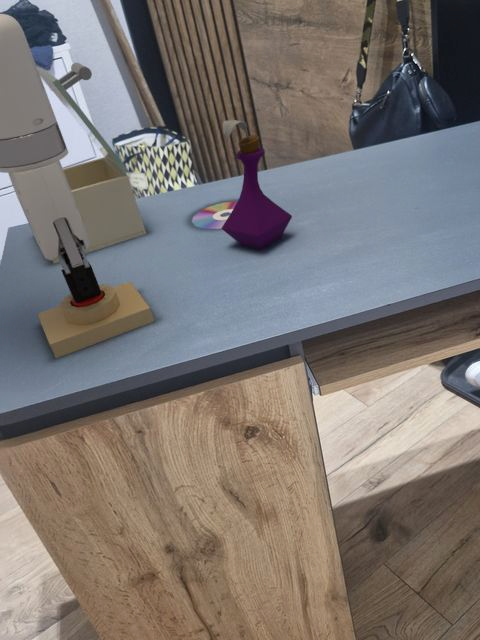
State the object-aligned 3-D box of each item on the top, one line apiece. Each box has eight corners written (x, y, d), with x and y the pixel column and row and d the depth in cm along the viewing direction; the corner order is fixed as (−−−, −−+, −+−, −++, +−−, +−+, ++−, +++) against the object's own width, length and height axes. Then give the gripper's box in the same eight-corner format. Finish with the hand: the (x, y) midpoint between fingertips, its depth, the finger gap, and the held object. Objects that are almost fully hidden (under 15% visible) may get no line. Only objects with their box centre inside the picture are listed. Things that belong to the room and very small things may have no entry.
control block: (56, 359, 75) (43, 331, 73) (43, 328, 82) (31, 301, 79) (155, 322, 79) (145, 294, 77) (135, 295, 86) (126, 269, 84)
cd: (267, 200, 109) (267, 199, 109) (247, 228, 100) (247, 227, 100) (206, 202, 111) (205, 202, 111) (181, 230, 102) (181, 230, 102)
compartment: (54, 264, 97) (28, 204, 92) (39, 237, 107) (15, 181, 102) (146, 234, 103) (127, 175, 97) (124, 211, 113) (106, 156, 107)
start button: (80, 319, 77) (75, 307, 76) (74, 308, 80) (69, 296, 79) (109, 309, 78) (105, 296, 77) (103, 298, 81) (98, 286, 80)
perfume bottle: (259, 228, 100) (234, 109, 89) (296, 236, 96) (274, 112, 85) (225, 248, 95) (195, 125, 85) (263, 257, 91) (235, 129, 81)
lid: (52, 82, 87) (86, 58, 88) (36, 70, 97) (66, 49, 98) (124, 174, 97) (154, 152, 98) (103, 155, 107) (130, 135, 108)
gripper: (-18, 142, 72) (46, 285, 82) (-3, 173, 61) (68, 333, 71) (50, 125, 75) (103, 265, 85) (77, 152, 64) (134, 309, 74)
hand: (87, 296), depth 78 cm, fingers closed
